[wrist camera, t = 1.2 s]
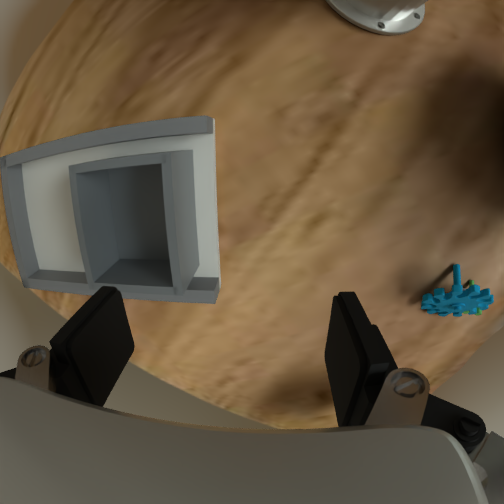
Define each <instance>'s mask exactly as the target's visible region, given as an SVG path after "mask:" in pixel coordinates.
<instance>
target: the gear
mask: <svg viewBox="0 0 504 504" xmlns="http://www.w3.org/2000/svg"><path fill="white" fill-rule="evenodd" d="M453 280H454V285H452V291H451V292H449V293H444V288H437V289H434V297H433V295H432V294H430V293H428V294H425V295H423V299H422V304H421V309H427V313H429V314H433V313H437V312H438V315H439V316H447V315H448V314H450V313H453V316H462V313H464V314H466V313H468V314H469V315H470V314H475V315H481V314H482V310H486V309H488V305H490V304H492V303H493V302H494V300H493V295H490V289H489V288H487V289H483V290H481V291H480V286H478V285H475V284H474V281H473V280H470V281H469V288H468V289H465V288H463V287H462V285H461V275H460V265H459V264H455V265H453Z"/></svg>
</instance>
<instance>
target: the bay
mask: <svg viewBox="0 0 504 504" xmlns="http://www.w3.org/2000/svg"><path fill="white" fill-rule="evenodd" d="M181 150H193V166H194V189H195V207H196V224H197V238H198V251H199V264H200V265H199V267H198V269H197V271H196V272H195V274H194V276H193V278H192V280H191V282H190V284H189V286H188V288H187V289H186V291H185V293H184V295H183V296H178V295H159V294H143V293H128V292H121V294H122V298H126V299H139V300H153V301H169V302H187V303H209V304H215V303H216V300H217V297H218V294H219V290H220V287H221V276H220V259H219V239H218V217H217V191H216V158H215V119H213V118H211V117H209V116H194V117H183V118H173V119H164V120H156V121H148V122H141V123H135V124H128V125H122V126H117V127H111V128H106V129H101V130H96V131H91V132H87V133H82V134H78V135H74V136H70V137H66V138H62V139H58V140H54V141H51V142H47V143H43V144H40V145H37V146H33V147H30V148H27V149H24V150H21V151H18V152H15V153H12V154H9V155H6V156H3V157H1V158H0V168H1V179H2V188H3V196H4V203H5V210H6V216H7V221H8V227H9V232H10V236H11V241H12V245H13V250H14V254H15V258H16V261H17V265H18V269H19V272H20V276H21V279H22V282H23V286H24V287H26V288H33V289H40V290H48V291H56V292H64V293H73V294H83V295H94V294H95V293H96V292H97V291H98V290H90V289H89V286H88V282H87V278H86V274H85V270H84V265H83V261H82V256H81V252H80V247H79V241H78V236H77V230H76V224H75V218H74V211H73V204H72V197H71V188H70V178H69V167H68V166H69V165H74V164H79V163H84V162H90V161H95V160H101V159H107V158H114V157H121V156H129V155H138V154H147V153H157V152H168V151H181Z"/></svg>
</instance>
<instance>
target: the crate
mask: <svg viewBox="0 0 504 504" xmlns="http://www.w3.org/2000/svg"><path fill="white" fill-rule="evenodd" d="M68 167H69V178H70V188H71V197H72V204H73V211H74V218H75V224H76V230H77V236H78V241H79V247H80V252H81V256H82V261H83V265H84V270H85V274H86V278H87V282H88V286H89V289H90V290H99V289H100V288H101V287H102V286H114V287H116V288H117V289H118V290H119V291H120V292H128V293H143V294H159V295H178V296H183V295H184V293H185V291H186V289H187V288H188V286H189V284H190V282H191V280H192V278H193V276H194V274H195V272H196V271H197V269H198V267H199V265H200V264H199V251H198V238H197V224H196V207H195V189H194V166H193V150H181V151H168V152H157V153H147V154H138V155H129V156H121V157H114V158H107V159H101V160H95V161H90V162H84V163H79V164H74V165H69V166H68Z"/></svg>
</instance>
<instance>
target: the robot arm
mask: <svg viewBox="0 0 504 504" xmlns="http://www.w3.org/2000/svg"><path fill="white" fill-rule="evenodd" d="M426 1H428V0H326V2H327V3H328V4H329V5H330V6H331V7H332V9H334V10H335V11H336V12H337V13H338V14H339V15H340V16H342V17H343V18H345V19H346V20H348V21H349V22H351V23H353V24H355V25H357V26H358V27H360V28H363V29H365V30H368V31H370V32H374V33H378V34H383V35H401V34H405V33H408V32H410V31H411V30H413V29H415V28H416V27H417V26H418V25H420V23H421V22H422V20H423V17H424V14H425V4H424V3H425V2H426ZM378 26H379V27H380V28H379V27H378ZM50 345H51V347H52V349H51V350H50V351H49V349H48V348H47V347H45V346H41V345H38V346H33V347H30V348H28V349H26V350H25V351H24V352H22V354H21V355H20V356H19V359H18V363H17V368H14V369H11V370H8V371H4V372H1V373H0V504H504V438H503V437H501V436H499V435H498V434H496V433H494V432H493V431H491V433H490V434H489V433H487V432H486V427H485V423H484V422H483V420H482V419H481V418H480V417H479V416H478V415H477V414H475V413H473V412H470V411H468V410H466V409H464V408H461V407H459V406H456V405H454V404H452V403H449V402H447V401H445V400H442V399H440V398H438V397H436V396H433V395H431V394H429V390H430V384H429V382H428V379H427V378H426V377H425V376H424V375H423V374H422V373H420V372H419V371H417V370H414V369H410V368H399V369H398V367H397V365H396V363H395V361H394V359H393V357H392V355H391V352H390V350H389V348H388V346H387V344H386V342H385V340H384V338H383V336H382V335H381V333H380V331H379V329H378V327H377V326H376V325H374V324H373V325H371V323H370V321H369V319H368V317H367V315H366V313H365V311H364V309H363V307H362V305H361V303H360V301H359V299H358V297H357V296H356V294H355V292H339V294H338V296H334V297H333V302H332V309H331V316H330V323H329V330H328V336H327V342H326V348H325V363H326V368H327V372H328V377H329V382H330V386H331V391H332V396H333V401H334V406H335V411H336V416H337V422H338V426H339V427H335V428H318V429H243V428H227V427H215V426H204V425H195V424H187V423H180V422H173V421H166V420H161V419H155V418H148V417H144V416H139V415H133V414H129V413H125V412H120V411H116V410H112V409H108V408H104V407H103V405H104V404H105V402H106V400H107V398H108V396H109V394H110V392H111V391H112V389H113V387H114V385H115V383H116V381H117V380H118V378H119V376H120V374H121V372H122V371H123V369H124V367H125V365H126V364H127V362H128V360H129V358H130V357H131V355H132V353H133V351H134V341H133V337H132V334H131V330H130V326H129V323H128V319H127V315H126V311H125V307H124V303H123V299H122V294H121V292H120V291H119V290H118V289H117V288H116V287H114V286H102V287H101V288H100V289H99V290H98V291H97V292H96V293H95V294H94V295H93V296H92V297H91V298H90V299H89V300H88V301H87V302H86V303H85V304H84V305H83V306H82V307H81V308H80V309H79V310H78V311H77V312H76V313H75V314H74V315H73V316H72V317H71V318H70V319H69V320H68V322H67V323H66V324H65V325H64V326H63V327H62V328H61V329H60V330H59V332H58V333H57V334H56V335H55V336H54V337H53V338H52V339H51V340H50Z"/></svg>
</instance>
